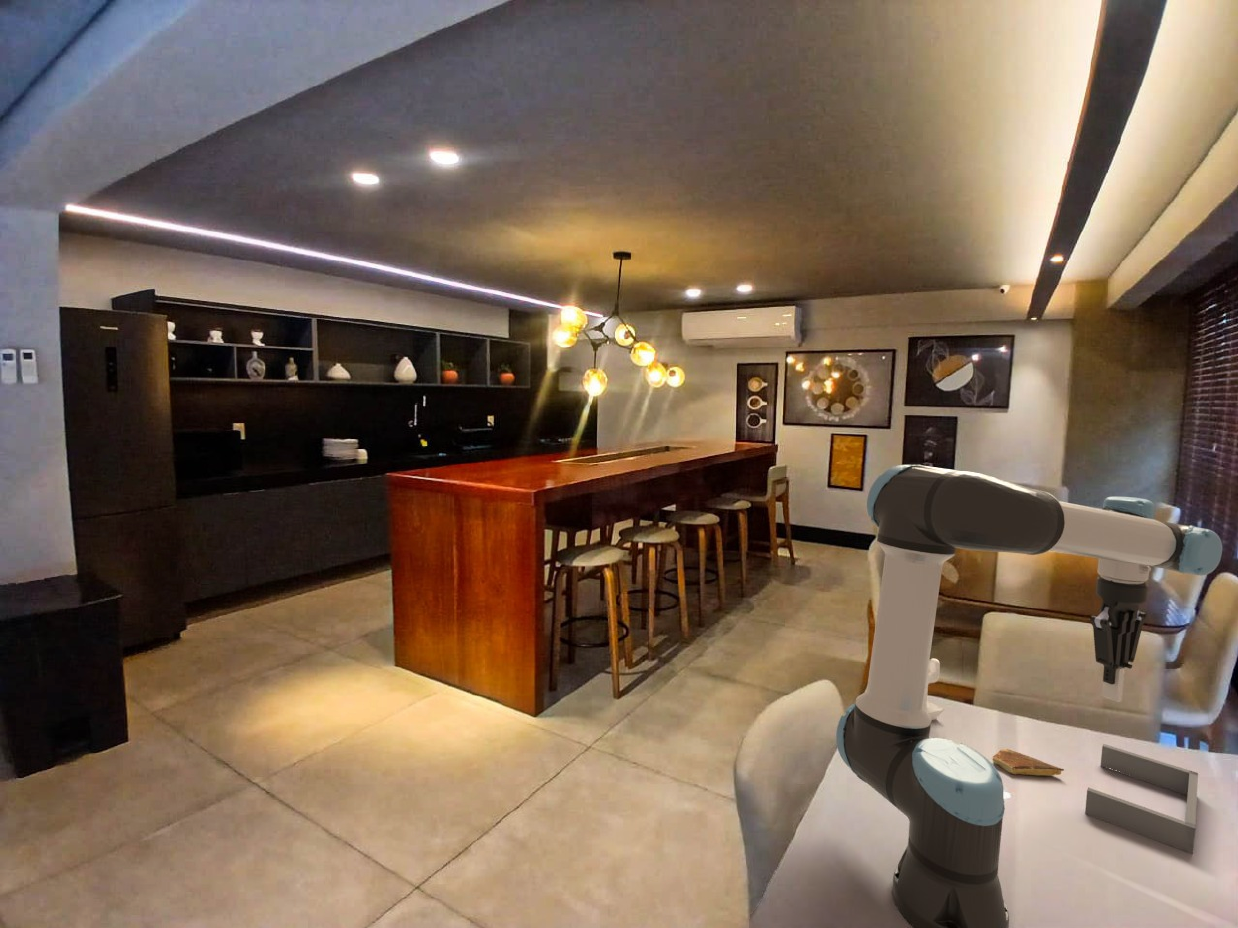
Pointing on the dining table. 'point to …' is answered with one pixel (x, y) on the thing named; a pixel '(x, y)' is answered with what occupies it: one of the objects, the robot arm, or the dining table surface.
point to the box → (1139, 816)
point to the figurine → (931, 678)
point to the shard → (1023, 764)
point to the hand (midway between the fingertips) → (1111, 698)
